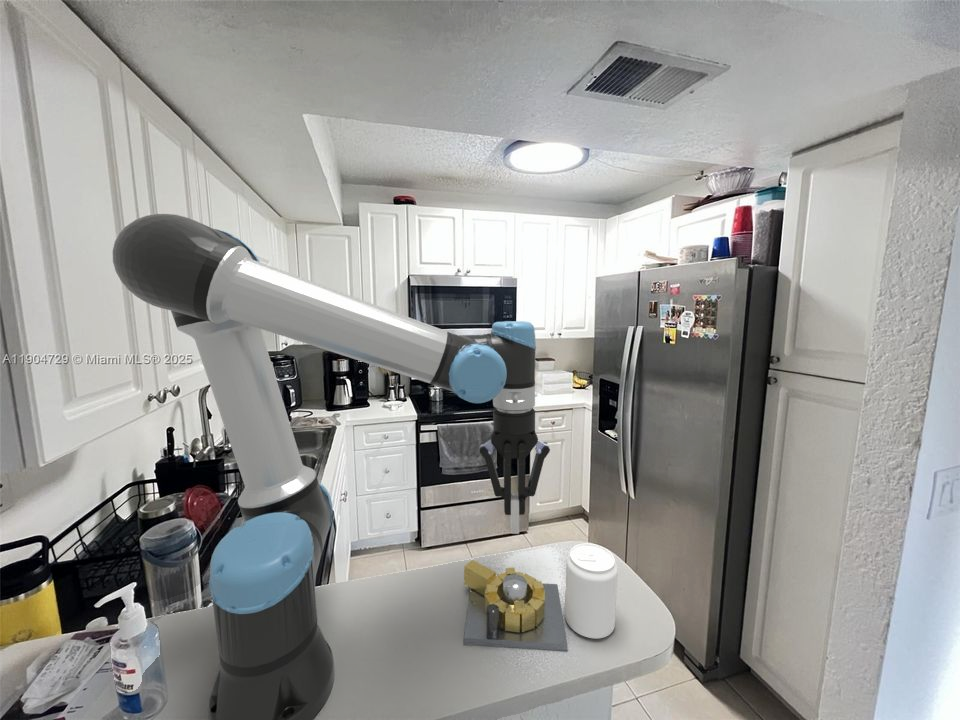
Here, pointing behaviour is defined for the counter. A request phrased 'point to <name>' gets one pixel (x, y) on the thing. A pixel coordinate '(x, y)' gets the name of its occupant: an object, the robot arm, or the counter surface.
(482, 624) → the plate
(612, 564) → the beverage can
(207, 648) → the counter surface
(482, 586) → the segmented ring with handle
